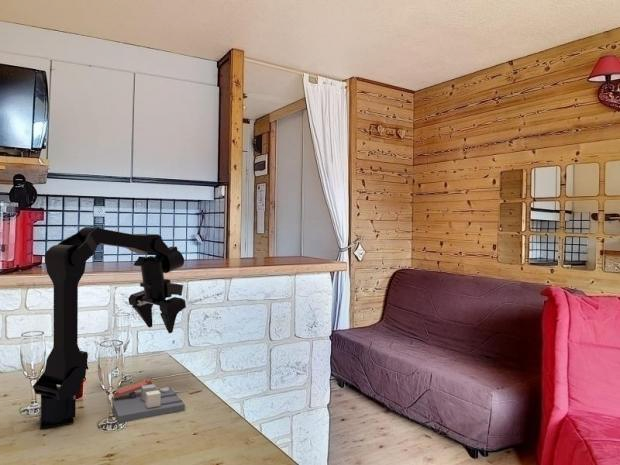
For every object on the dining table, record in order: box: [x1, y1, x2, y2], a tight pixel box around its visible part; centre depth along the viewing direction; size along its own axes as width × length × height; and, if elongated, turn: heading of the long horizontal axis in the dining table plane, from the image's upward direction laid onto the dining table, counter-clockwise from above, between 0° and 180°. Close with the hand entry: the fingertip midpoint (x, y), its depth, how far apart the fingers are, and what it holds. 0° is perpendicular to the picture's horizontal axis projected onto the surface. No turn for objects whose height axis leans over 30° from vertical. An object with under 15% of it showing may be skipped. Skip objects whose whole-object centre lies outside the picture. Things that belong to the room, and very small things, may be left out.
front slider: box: [145, 390, 161, 408], centre depth 110 cm, size 3×2×3 cm
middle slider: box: [140, 383, 157, 401], centre depth 114 cm, size 3×2×3 cm
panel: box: [112, 386, 186, 423], centre depth 114 cm, size 15×14×3 cm
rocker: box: [113, 377, 153, 398], centre depth 116 cm, size 9×3×1 cm, turn 121°
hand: (160, 329), depth 132 cm, fingers open, 9 cm apart
